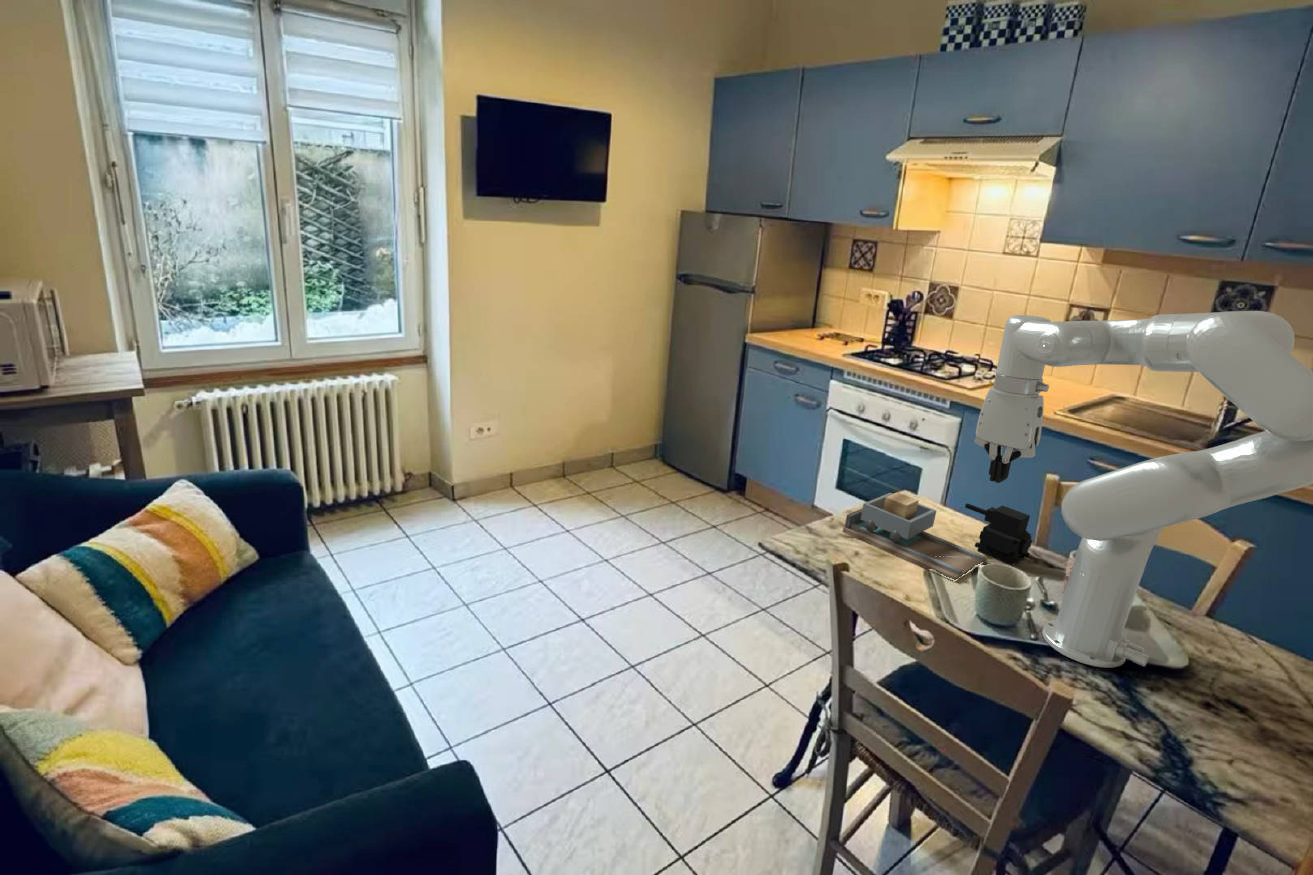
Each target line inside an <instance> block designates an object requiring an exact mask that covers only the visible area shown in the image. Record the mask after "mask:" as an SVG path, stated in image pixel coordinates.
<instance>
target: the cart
mask: <svg viewBox="0 0 1313 875" xmlns="http://www.w3.org/2000/svg"><path fill="white" fill-rule="evenodd" d="M892 494H894V493H892V492H889V493H887V494H886V493H885V494H884V495H881V496H879V497H876V498H874V499H871V500H869V501H865V502H864V503H863V505H862V508H863V509H862V508H861V509H862V514H861V520H863V521H865V522H866V524H865V526H866V529H867V530H868V531H874V530H876V529H877V528H878V527H879V528H882V529H884V530H887V531H889V532H891V533H890V538H891V540H892V541H893V542H899V541H901V540H902V539H903V538H905V539H909V538H911V537H913V536H915V535H917V534H919V533H921V532H923V531H924V532H926V530H930V529H931V528H932V527H934V523H935V520H936V519H935V518H936V514H937V509H935V508H932V507H929V506H926V505H924V504H921V503H919V502H918V506H917V511H916V515H915V518H913V519H911V520H907V519H904V518H902V517H900V516H897V515H895V514H892V513H890V512H887V511H885V510H883V509H884V504H885V499H886V497H888V496H890V495H892Z"/></svg>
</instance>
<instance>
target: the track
mask: <svg viewBox="0 0 1313 875" xmlns="http://www.w3.org/2000/svg"><path fill="white" fill-rule="evenodd" d="M862 509H863V507H862V508H860V509H857V510H855V511H853V512H850V513H848V514H846V517H845V522H844V527H843V528H842V533H845V534H847V535H849V536H851V537H853V538H855V539H858V540H860V541H862V542H865V543H867V544H869V545H871V546H873V547H875V548H878V549H880V550H882V551H885V552H887V553H888V554H891V555H893V556H896V557H898V558H900V559H902V560H904V561H906V562H908V563H911V564H914V565H915V566H917V567H920V568H922V569H924V570H926V571H928V570H927V569H934V570H936V571H937V572H939V573H940V574H943V575H944V576H946V577H949V578H952V579H954V580H956V579H958V578H959V577H961V576H962V575H963V574H966V573H967V572H968V571H969V570H971V569H972V568H973V567H974V566H975V565H978V564H980V563H981V562H985V561H986V562H987V560H988V558H987V557H986V556H985V555H984V554H981V553H978V552H975V551H972V550H970V549H968V548H965V547H963V546H960V545H959V544H955V543H953V542H951V541H948V540H946V539H944V538H941V537H939V536H936V535H933V534H931V533H929V532H926V531H923V532H921V533H919V534H917V535H915V536H913V537H911V538H909V539H905V538H903V539H902V540H901V541H899V542H893V541H892V540H891V538H890V533H891V532H889V531H887V530H884V529H882V528H879V527H878V528H877V529H876V530H874V531H868V530H867V529H866V526H865V524H866V522H865V521H863V520H861V514H862ZM935 556H937V557H935ZM939 556H941V557H939ZM943 556H944V557H943ZM946 556H947V557H946ZM948 556H969V557H971V559H957V558H952V557H948Z"/></svg>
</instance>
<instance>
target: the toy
mask: <svg viewBox="0 0 1313 875" xmlns="http://www.w3.org/2000/svg"><path fill="white" fill-rule="evenodd" d="M964 508H965V509H968V510H970V511H974V512H976V513H977V514H981V515H982V516H983V515H984V521H985V522H988V523H989V524H987V525H984V526H983V527H982V530H981V531H980V532H979V537H978V539H979V541H976V542H975V544H974V547H975V548H977V553H978V552H979V554H982V555H984V556H985V555H986V556H988V557H990V558H992V559H995V560H998V561H1000V562H1002V563H1004V564H1007V565H1009V564H1010V565H1009V566H1011V565H1013V566H1014V565H1018V564H1020V560H1024V559H1025V558H1027V559H1028V558H1029V557H1030V555H1031V553H1030V552H1029V549H1030V548H1031V545H1032V542H1033V540H1032V536H1031V533H1029V531H1028V530H1027V528H1028V525H1029V521H1030V517H1031V515H1029V514H1027V513H1024V512H1021V511H1018V510H1015V509H1013V508H1010V507H1008V506H1004V505H1001V506H999V507H997V508H995V507H993V506H992V507H990V508H988V509H985V508H982V507H979V506H976V505H974V504H971V503H965V506H964Z"/></svg>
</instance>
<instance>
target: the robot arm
mask: <svg viewBox="0 0 1313 875" xmlns="http://www.w3.org/2000/svg"><path fill="white" fill-rule="evenodd" d="M1295 339H1296V338H1295V333H1294V329H1293V327H1292V326H1291V325H1290V323H1289V322H1288V321H1287V320H1286V319H1284V318H1283V317H1282V316H1280V315H1278V314H1276V313H1273V312H1269V311H1263V310H1243V311H1242V310H1241V311H1239V310H1234V311H1221V312H1219V311H1218V312H1197V313H1196V312H1195V313H1194V312H1193V313H1167V314H1165V313H1164V314H1155V315H1153V316H1152V317H1150V318H1141V319H1137V318H1136V319H1120V320H1119V319H1111V320H1070V321H1061V320H1060V321H1052V320H1050V319H1049V318H1046V317H1044V316H1043V317H1042V316H1035V315H1029V314H1028V315H1026V314H1024V315H1023V314H1016V315H1011V316H1010V317H1008V318H1007V320H1006V322H1005V326H1004V332H1003V334H1002V340H1001V341H1002V342H1001V346H1000V350H999V351H1000V352H999V356H998V361H997V367H996V372H995V377H994V381H993V386H992V387H990V388H989V389H988V390H987V394H986V396H985V398H984V401H983V404H982V405H981V406H982V407H981V409H980V412H979V416H978V419H977V424H976V429H975V438H974V440H973V441H974V444H976V445H977V446H980V447H981V448H984V450H985V451H986V453H987V454H988V458H989V459H990V464H989V465H990V466H989V469H988V470H989V471H988V475H989V476H990V477H989V481H991V482H995V483H996V484H1001V483H1002V482H1004V481H1005V480H1007V479H1008V478H1009V475H1010V469H1011V465H1012V462H1014V461H1015V460H1016V459H1017V460H1018V459H1019V458H1024V459H1025V458H1027V459H1028V458H1029V459H1030V458H1034V457H1035V456H1036V447H1038V445H1039V444H1040V440H1041V437H1042V436H1041V435H1042V429H1043V422H1044V421H1043V419H1044V406H1045V405H1044V403H1045V402H1044V396H1043V395H1041V394H1040V393H1042V392H1045V393H1047V392H1048V391H1049V388H1050V385H1049V384H1047V383H1045V382H1044V378H1043V376H1044V372H1045V366H1049V367H1053V368H1061V367H1064V368H1065V367H1072V366H1074V367H1076V366H1090V365H1094V366H1095V365H1099V366H1100V365H1109V366H1110V365H1116V366H1117V365H1118V366H1119V365H1120V366H1121V365H1123V366H1142V367H1147V369H1149V370H1150V371H1154V372H1175V373H1176V372H1177V373H1178V372H1179V373H1181V372H1182V373H1183V372H1184V373H1185V372H1187V373H1192V372H1193V373H1199V374H1200V375H1201V376H1202V377H1203V378H1204V379H1205V380H1206V381H1207V382H1209V384H1211V385H1212V386H1213V387H1214V388H1215V389H1216V390H1217V391H1219V393H1221V394H1222V395H1223V396H1225V398H1226V399H1227V400H1228V401H1230V402H1231V403H1232V404H1233V405H1235V407H1236V408H1238V410H1240V411H1241V412H1242V413H1243V414H1244V415H1245V416H1246V417H1248V418H1249V419H1251V421H1252V422H1254V423H1255V424H1256V425H1257V426H1258V427H1260V428H1261V429H1262V430H1264V431H1261V432H1257V433H1254V434H1251V435H1248V436H1245V437H1242V438H1239V439H1237V440H1234V441H1230V442H1227V443H1223V444H1221V445H1217V446H1214V447H1209V448H1205V449H1201V450H1196V451H1188V452H1187V451H1186V452H1178V453H1175V454H1169V455H1164V456H1163V455H1162V456H1159V457H1154V458H1151V459H1148V460H1144V461H1141V462H1137V463H1133V464H1131V465H1128V466H1125V467H1122V468H1119V469H1115V470H1113V471H1109V472H1105V473H1103V474H1100V475H1097V476H1093V477H1090V478H1086V479H1085V480H1082V481H1079V482H1077V483H1075V485H1073V486H1071V487H1070V488H1069V489H1068V491H1067V492H1066V493H1065V495H1064V497H1063V499H1062V503H1061V515H1062V519H1063V521H1064V523H1065V525H1066V526H1067V528H1069V529H1070V531H1072V532H1073V533H1074V534H1076V535H1077V536H1079V537H1080V538H1081V539H1080V542H1079V545H1078V548H1077V550H1076V555H1075V557H1074V559H1073V560H1074V561H1073V564H1072V567H1071V571H1070V574H1069V577H1068V580H1067V583H1066V584H1067V585H1066V587H1065V591H1064V594H1063V598H1062V599H1061V600H1062V601H1061V603H1060V607H1059V610H1058V614H1057V617H1056V619H1052V620H1049V621H1047V622H1046V623H1045V624H1044V625H1043V628H1042V633H1041V634H1042V636H1043V639H1044V640H1045V642H1046V643H1048V644H1049V646H1050V647H1051V648H1053V649H1054V650H1055V651H1057V652H1059V653H1060V654H1061V655H1063V656H1065V657H1067V658H1070V659H1071V660H1073V661H1076V662H1079V663H1082V664H1085V665H1088V666H1092V667H1098V668H1107V669H1108V668H1116V667H1120V666H1122V665H1123V664H1125V662H1126V660H1130V661H1132V663H1134V664H1137V665H1139V666H1141V667H1146V666H1147V663H1148V661H1149V659H1150V655H1148V654H1146V653H1144V652H1145V647H1142V646H1140V645H1138V644H1135V643H1133V642H1130V640H1129V639H1128V638H1127V636H1128V633H1129V631H1128V630H1126V629H1125V626H1126V625H1127V621H1128V618H1129V615H1130V612H1131V609H1132V606H1133V603H1134V601H1135V597H1136V594H1137V592H1138V588H1139V585H1140V583H1141V581H1142V580H1141V579H1142V577H1143V574H1144V571H1145V569H1146V565H1147V562H1148V561H1149V560H1148V559H1149V557H1150V555H1151V553H1152V551H1153V548H1154V546H1155V544H1156V542H1157V541H1158V538H1159V536H1160V535H1161V532H1162V531H1163V529H1164V528H1167V527H1170V526H1171V527H1172V526H1175V525H1178V524H1182V523H1185V522H1186V523H1187V522H1190V521H1194V520H1197V519H1200V518H1201V519H1202V518H1205V517H1207V516H1211V515H1213V514H1215V513H1218V512H1220V511H1223V510H1226V509H1228V508H1232V507H1235V506H1238V505H1243V504H1246V503H1249V502H1254V501H1258V500H1262V499H1267V498H1270V497H1273V496H1275V495H1279V494H1283V493H1288V492H1291V491H1294V490H1297V489H1301V488H1305V487H1307V486H1312V485H1313V370H1312V369H1310V368H1309V367H1308V366H1306V365H1305V364H1304V363H1303V362H1301V361H1300V360H1299V359H1297V358H1296V357H1295V356H1293V355H1292V354H1291V353H1292V352H1293V349H1294V346H1295V342H1296V341H1295ZM1003 447H1005V449H1004V450H1005V451H1004V453H1003Z"/></svg>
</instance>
